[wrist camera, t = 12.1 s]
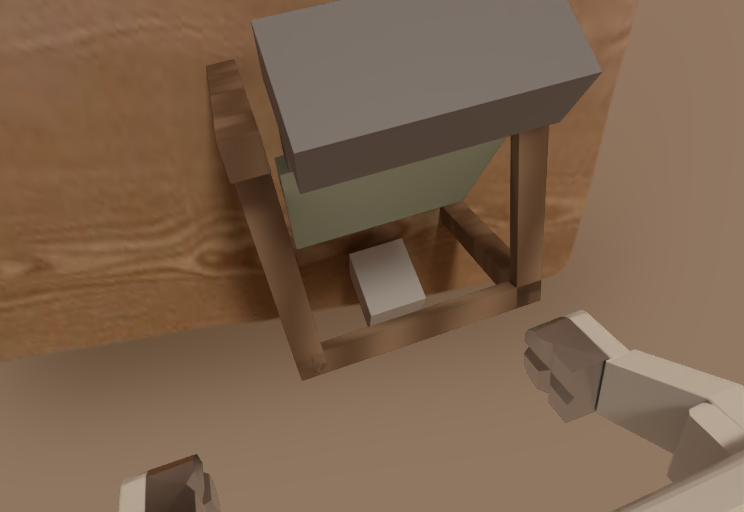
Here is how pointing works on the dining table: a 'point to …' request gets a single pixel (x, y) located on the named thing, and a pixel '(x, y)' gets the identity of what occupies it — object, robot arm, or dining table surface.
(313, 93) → the trapdoor
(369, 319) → the light grey block
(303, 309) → the stand
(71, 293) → the dining table surface
